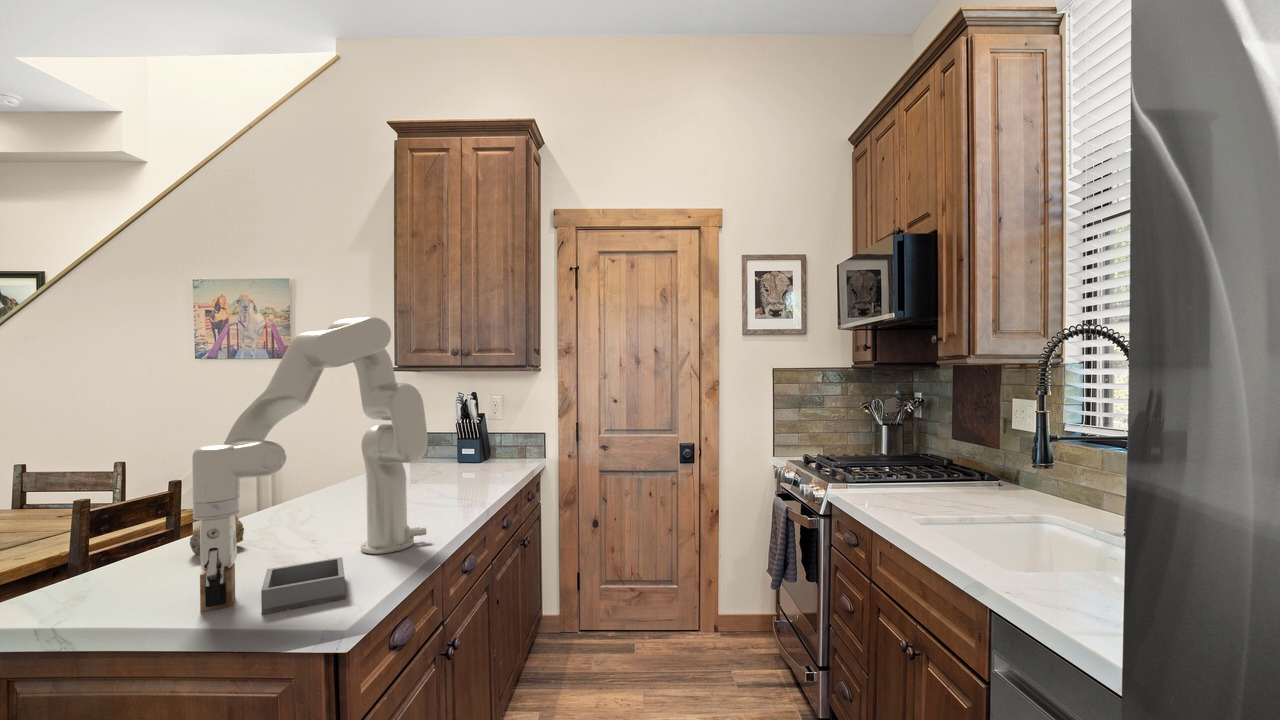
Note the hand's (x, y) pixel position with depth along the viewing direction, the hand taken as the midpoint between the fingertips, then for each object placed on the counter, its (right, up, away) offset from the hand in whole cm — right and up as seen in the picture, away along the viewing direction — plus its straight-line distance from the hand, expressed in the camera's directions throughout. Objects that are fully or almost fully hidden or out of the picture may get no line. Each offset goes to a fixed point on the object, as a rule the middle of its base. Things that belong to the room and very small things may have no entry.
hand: (218, 599), depth 115 cm
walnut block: (0, -1, 0) cm, 1 cm away
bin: (+15, -1, +4) cm, 16 cm away
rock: (-27, -2, +35) cm, 45 cm away
